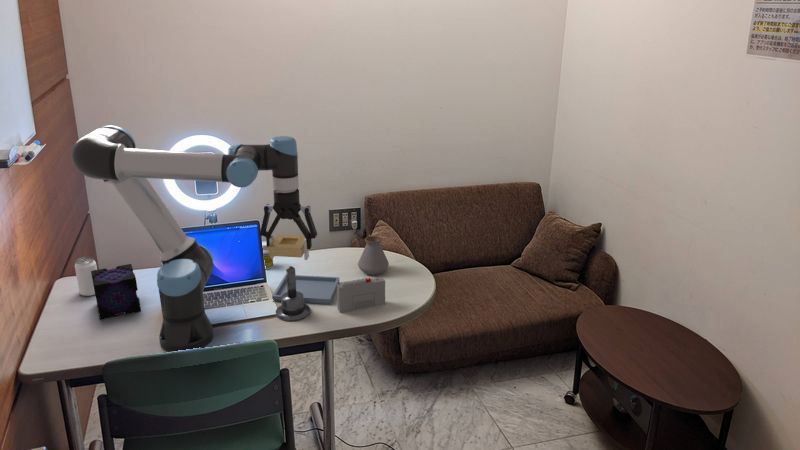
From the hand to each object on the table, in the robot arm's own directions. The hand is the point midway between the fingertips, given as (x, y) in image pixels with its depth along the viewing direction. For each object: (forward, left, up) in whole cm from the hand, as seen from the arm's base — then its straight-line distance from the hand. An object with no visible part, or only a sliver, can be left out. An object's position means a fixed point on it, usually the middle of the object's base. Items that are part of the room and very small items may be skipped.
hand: (289, 257), depth 185 cm
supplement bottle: (+33, +19, -20) cm, 43 cm away
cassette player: (+7, -21, -20) cm, 30 cm away
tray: (+15, -1, -20) cm, 25 cm away
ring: (+1, 0, +2) cm, 3 cm away
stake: (0, 0, -20) cm, 20 cm away
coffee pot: (+39, -20, -20) cm, 48 cm away
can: (+6, +72, -20) cm, 75 cm away
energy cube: (-3, +57, -20) cm, 60 cm away
